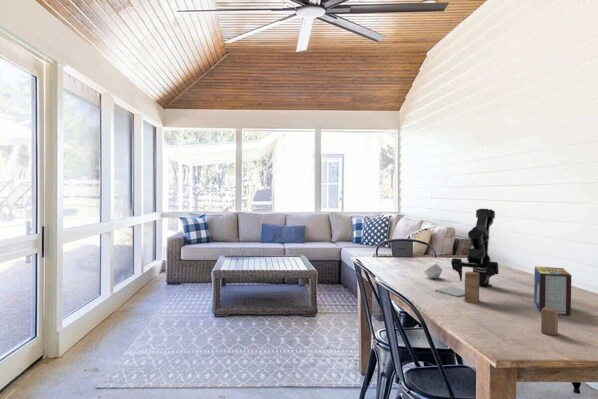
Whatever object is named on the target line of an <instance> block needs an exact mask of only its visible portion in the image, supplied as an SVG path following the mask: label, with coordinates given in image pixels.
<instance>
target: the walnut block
mask: <svg viewBox="0 0 598 399" xmlns="http://www.w3.org/2000/svg"><path fill="white" fill-rule="evenodd" d="M479 276H480V273H478V272H473V271H466V272H465V273H464V290H465V296H464V302H466V303H471V304H478V303H479V301H480V286H479Z"/></svg>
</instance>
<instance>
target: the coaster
mask: <svg viewBox="0 0 598 399" xmlns="http://www.w3.org/2000/svg"><path fill="white" fill-rule="evenodd" d="M435 292H437V293H441V294H446V295H448V296H449V295H450V296H452V297H455V298H459V297H465V289H463V288H459V287H456V286H455V287H454V286H449V287H445V288H444V287H443V288H438V289H435Z"/></svg>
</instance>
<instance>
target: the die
mask: <svg viewBox="0 0 598 399" xmlns="http://www.w3.org/2000/svg"><path fill="white" fill-rule="evenodd" d="M423 272H424V274H425V276H426V277H427V278H428V279H429V278H439V279H440V276H441V274H442V272H443V268H442V267H441V266H440V264H438V262H426V264H425V267H424V269H423Z"/></svg>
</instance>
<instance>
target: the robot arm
mask: <svg viewBox="0 0 598 399" xmlns="http://www.w3.org/2000/svg"><path fill="white" fill-rule="evenodd" d="M475 212H476V213H475V217H476V219H477V220H476V224H475V226H474V227H472V229H471V230H469V231H468V233H467V235H468V236H467V237H468V241H469V245H470V248H467V255H466V256H467V257H466V260H467V261H462V260H463V259H462V258H459V257H458V258H456V257H455V258H454V257H453V258H452V259H451V261H450V263H451V268H452V270H453V271H455V272H456V273H458V276H459V281H460V282H462V280H463V268H472V272H478V273H480V276H479V287H484V288H487V287H492V286H493V284H491V283H490V278H491V277H494V276H495V275H499V271H500V268H499V263H498V261H492V260H491V257H490V255H489V241H490V228H491V226H492V225H493V224H494V219H495V218H496V212H495V210H493V209H492V208H491V209H489V208H478V209H476V210H475Z"/></svg>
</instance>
